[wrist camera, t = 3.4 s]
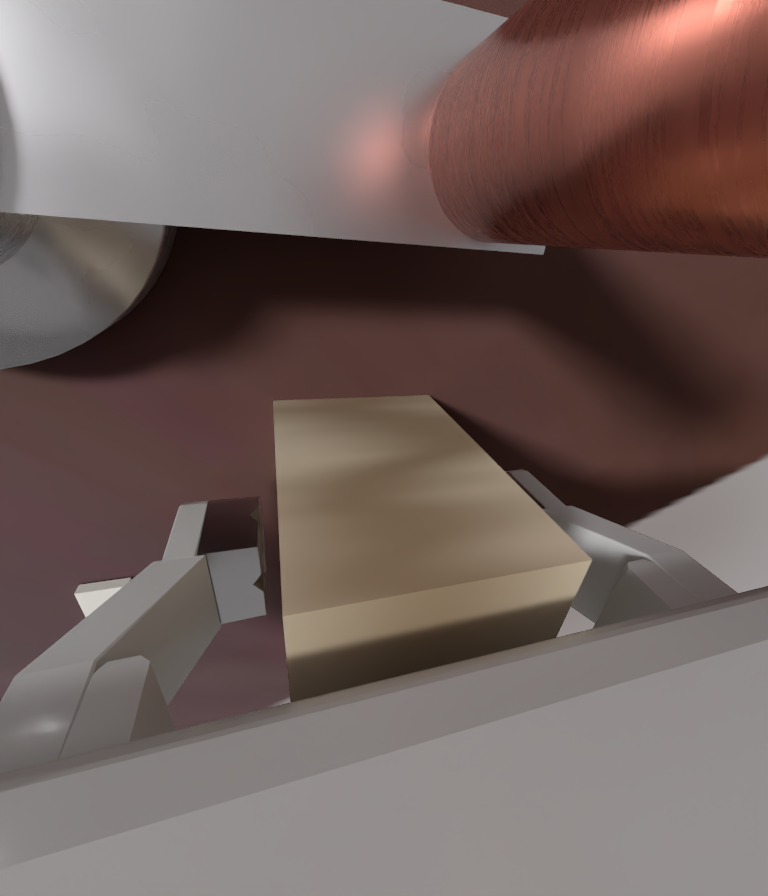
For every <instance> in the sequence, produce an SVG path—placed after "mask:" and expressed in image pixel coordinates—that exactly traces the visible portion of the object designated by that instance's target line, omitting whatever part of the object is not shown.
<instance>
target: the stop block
mask: <svg viewBox="0 0 768 896" xmlns="http://www.w3.org/2000/svg"><path fill="white" fill-rule="evenodd" d="M273 409H274V432H275V455H276V478H277V501H278V523H279V546H280V569H281V592H282V614H283V626H284V637H285V647H286V658H287V668H288V679H289V689H290V700H291V702H295V701H299V700H303V699H307V698H311V697H315V696H319V695H324V694H328V693H332V692H336V691H340V690H344V689H348V688H352V687H356V686H360V685H365V684H369V683H373V682H377V681H381V680H385V679H389V678H393V677H398V676H402V675H406V674H410V673H414V672H418V671H422V670H426V669H430V668H435V667H439V666H443V665H447V664H451V663H455V662H459V661H463V660H467V659H472V658H476V657H480V656H484V655H488V654H492V653H496V652H500V651H504V650H509V649H513V648H517V647H521V646H525V645H529V644H533V643H537V642H541V641H545V640H549V639H553V638H556V636H557V634H558V632H559V630H560V628H561V626H562V624H563V621H564V619H565V617H566V615H567V613H568V611H569V609H570V607H571V604H572V602H573V600H574V598H575V596H576V594H577V592H578V590H579V587H580V585H581V583H582V581H583V579H584V577H585V575H586V572H587V570H588V568H589V566H590V564H591V562H592V559H591V558H590V557H589V556H588V555H587V554H586V553H585V552H584V551H583V550H582V549H581V548H580V547H579V546H578V545H577V544H576V543H575V542H574V541H573V540H572V539H571V538H570V537H569V536H568V535H567V534H566V533H565V532H564V531H563V530H562V529H561V528H560V527H559V526H558V525H557V524H556V523H555V522H554V521H553V520H552V519H551V518H550V517H549V516H548V515H547V514H546V513H545V512H544V511H543V510H542V509H541V507H540V506H539V505H538V504H537V503H536V502H535V501H534V500H533V499H532V498H531V497H530V496H529V495H528V494H527V493H526V492H525V491H524V490H523V489H522V488H521V487H520V486H519V485H518V484H517V483H516V482H515V481H514V480H513V479H512V478H511V477H510V476H509V475H508V474H507V473H506V472H505V471H504V470H503V469H502V468H501V467H500V466H499V465H498V464H497V463H496V462H495V461H494V460H493V459H492V458H491V457H490V456H489V455H488V454H487V453H486V452H485V451H484V450H483V449H482V448H481V447H480V446H479V445H478V444H477V443H476V442H475V441H474V440H473V439H472V438H471V437H470V436H469V435H468V434H467V433H466V432H465V431H464V430H463V429H462V428H461V427H460V426H459V425H458V424H457V423H456V422H455V421H454V420H453V419H452V418H451V417H450V416H449V415H448V414H447V413H446V412H445V411H444V410H443V409H442V408H441V407H440V406H439V405H438V404H437V403H436V402H435V401H434V400H433V399H432V398H431V397H430V396H429V395H420V396H391V397H363V398H335V399H306V400H278V401H273Z"/></svg>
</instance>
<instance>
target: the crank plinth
mask: <svg viewBox="0 0 768 896" xmlns="http://www.w3.org/2000/svg"><path fill="white" fill-rule="evenodd" d="M176 233H177V226H172V225H159V224H146V223H133V222H121V221H108V220H95V219H83V218H70V217H57V216H44V215H41V216H40V218H39V221H38V223H37V226H36V228H35V229H34V231H33V232H32V234H31V236H30V237H29V239H28V240H27V242H26V243H25V244H24V245H23V246H22V247H21V248H20V250H19V251H18V252H17V253H16V254H15V255H14V256H13V257H12V258H10V259H9V260H7V261H6V262H5V263H3V264H2V265H0V369H5V368H11V367H16V366H22V365H27V364H32V363H35V362H39V361H42V360H45V359H48V358H51V357H54V356H57V355H60V354H62V353H64V352H66V351H68V350H71V349H73V348H75V347H77V346H79V345H81V344H83V343H85V342H86V341H88V340H90V339H91V338H93V337H95V336H96V335H98V334H99V333H101V332H103V331H104V330H106V329H107V328H109V327H110V326H112V325H113V324H115V323H116V322H118V321H119V320H121V319H122V318H123V317H125V316H126V315H128V314H129V313H130V312H131V311H132V310H133V309H134V308H135V307H136V306H137V305H138V304H139V303H140V302H141V301H142V300H143V299H144V298H145V297H146V295H147V294H148V293H149V291H150V290H151V289H152V287H153V286H154V284H155V283H156V282H157V280H158V279H159V277H160V275H161V273H162V271H163V269H164V267H165V265H166V263H167V261H168V259H169V256H170V252H171V249H172V246H173V243H174V240H175V236H176Z"/></svg>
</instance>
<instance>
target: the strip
mask: <svg viewBox="0 0 768 896" xmlns="http://www.w3.org/2000/svg"><path fill="white" fill-rule="evenodd" d="M131 580H132V579H131V577H130V578H123V579H116V580H109V581H102V582H95V583H88V584H81V585H79V586H78V588H77V590H76V592H75V593H74V595H75V597H76V599H77V601H78V603H79V605H80V607H81V609H82V611H83V613H84V615H85V617H87V616H88V615H90V614H91V613H92V612H93V611H94V610H96V609H97V608H98V607H99V606H100V605H102V604H103V603H104V602H105V601H106V600H108V599H109V598H110V597H111V596H113V595H114V594H115V593H116V592H117V591H119V590H120V589H121V588H122V587H123V586H125V585H126V584H127V583H128V582H129V581H131Z"/></svg>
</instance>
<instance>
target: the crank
mask: <svg viewBox="0 0 768 896" xmlns="http://www.w3.org/2000/svg"><path fill="white" fill-rule="evenodd" d="M41 215H44V216H57V217H70V218H83V219H95V220H108V221H121V222H133V223H146V224H159V225H172V226H184V227H197V228H210V229H222V230H235V231H248V232H261V233H273V234H286V235H299V236H312V237H324V238H337V239H350V240H362V241H375V242H388V243H401V244H413V245H426V246H439V247H452V248H464V249H477V250H490V251H502V252H515V253H528V254H541V255H543V254H544V250H545V246H556V247H575V248H593V249H611V250H629V251H647V252H665V253H683V254H701V255H719V256H737V257H756V258H768V0H529V1H528V2H527V3H526V4H525V5H523V6H522V7H521V8H520V9H519V10H518V11H517V12H515V13H514V14H513V15H512V16H511V17H510V18H505V17H502V16H498V15H494V14H491V13H487V12H483V11H479V10H476V9H472V8H468V7H464V6H461V5H457V4H453V3H450V2H446V1H442V0H0V265H2V264H3V263H5V262H6V261H7V260H9V259H10V258H12V257H13V256H14V255H15V254H16V253H17V252H18V251H19V250H20V248H21V247H22V246H23V245H24V244H25V243H26V242H27V240H28V239H29V237H30V236H31V234H32V232H33V231H34V229H35V228H36V226H37V223H38V221H39V218H40V216H41Z"/></svg>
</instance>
